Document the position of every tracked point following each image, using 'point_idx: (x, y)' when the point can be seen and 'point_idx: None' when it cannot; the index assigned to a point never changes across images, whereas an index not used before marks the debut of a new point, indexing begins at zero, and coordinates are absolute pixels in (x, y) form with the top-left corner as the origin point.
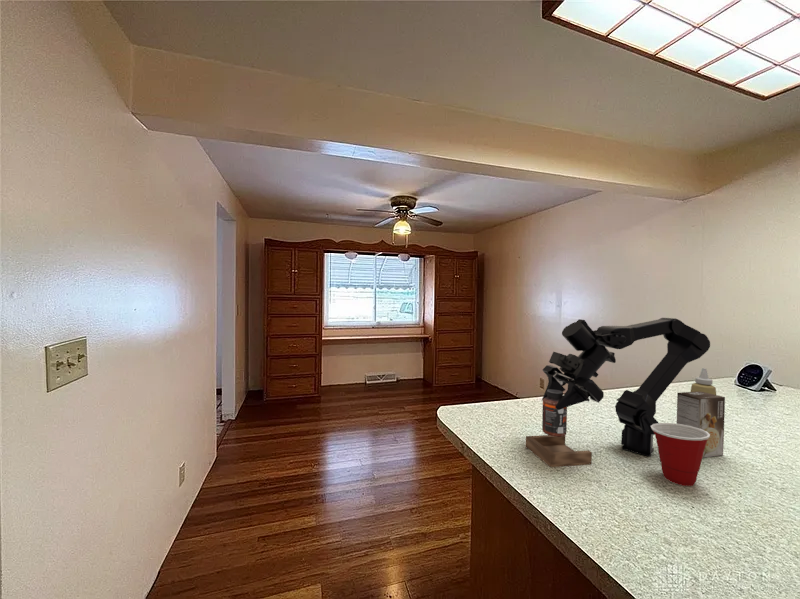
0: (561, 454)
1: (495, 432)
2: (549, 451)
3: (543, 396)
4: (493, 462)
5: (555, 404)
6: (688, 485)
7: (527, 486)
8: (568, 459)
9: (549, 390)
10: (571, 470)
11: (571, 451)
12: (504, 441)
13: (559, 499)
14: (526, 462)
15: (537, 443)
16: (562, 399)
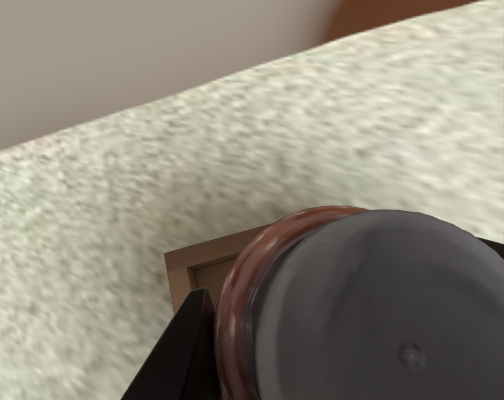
0: (172, 300)
1: (436, 140)
2: (195, 257)
3: (483, 241)
4: (196, 100)
5: (221, 295)
6: None
7: (69, 158)
8: None
9: (429, 255)
10: (159, 328)
11: None
12: (359, 156)
13: (2, 220)
14: (205, 190)
15: None
16: (143, 384)
